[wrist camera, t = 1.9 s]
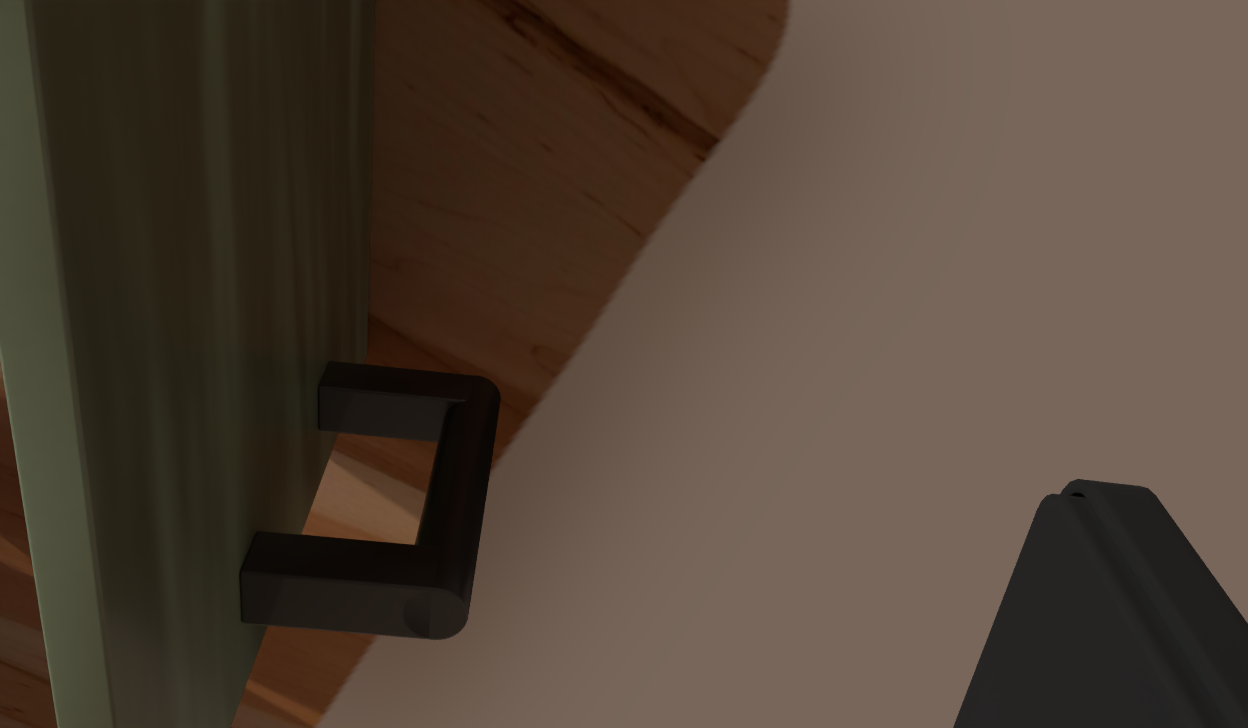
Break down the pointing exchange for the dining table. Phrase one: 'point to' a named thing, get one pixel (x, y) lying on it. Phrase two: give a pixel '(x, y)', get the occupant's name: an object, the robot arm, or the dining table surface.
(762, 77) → the dining table surface
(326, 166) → the cupboard door
